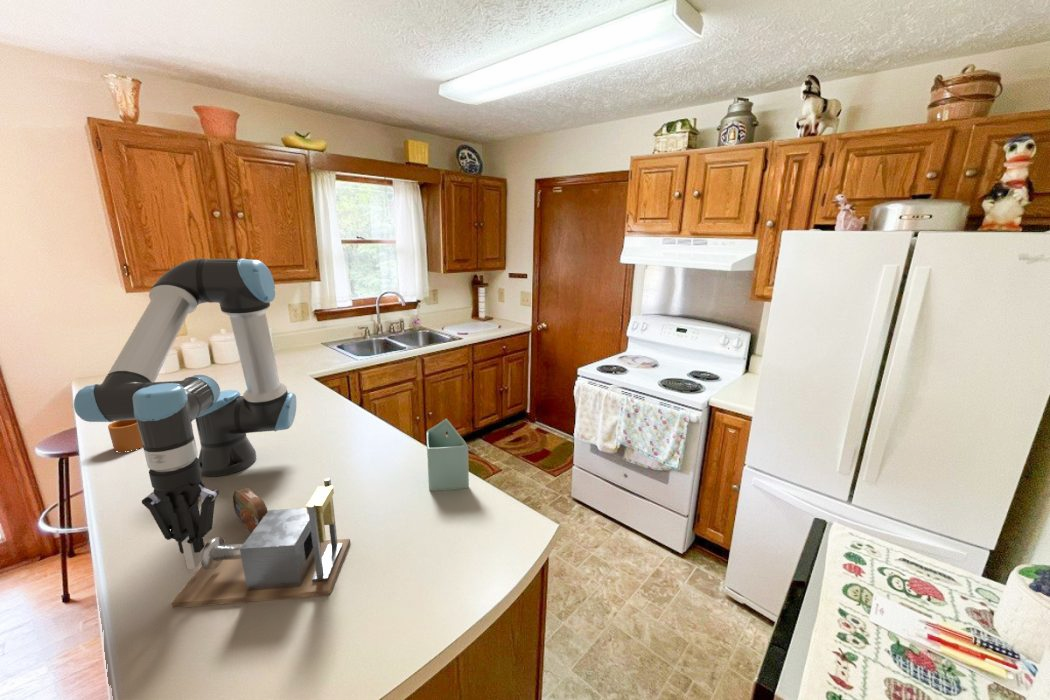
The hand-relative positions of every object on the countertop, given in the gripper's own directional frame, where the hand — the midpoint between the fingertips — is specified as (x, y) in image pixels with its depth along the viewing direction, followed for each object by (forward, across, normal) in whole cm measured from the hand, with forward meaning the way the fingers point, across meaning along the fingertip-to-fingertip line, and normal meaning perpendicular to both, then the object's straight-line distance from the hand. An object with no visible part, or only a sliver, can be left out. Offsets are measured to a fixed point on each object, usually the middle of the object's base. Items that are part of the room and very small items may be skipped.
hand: (195, 564), depth 86 cm
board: (+4, +14, 0) cm, 15 cm away
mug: (+4, -57, +64) cm, 85 cm away
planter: (+4, +48, +31) cm, 57 cm away
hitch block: (+2, +20, 0) cm, 20 cm away
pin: (+1, +11, 0) cm, 11 cm away
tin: (+4, +2, +17) cm, 18 cm away
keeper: (-6, +26, 0) cm, 27 cm away
